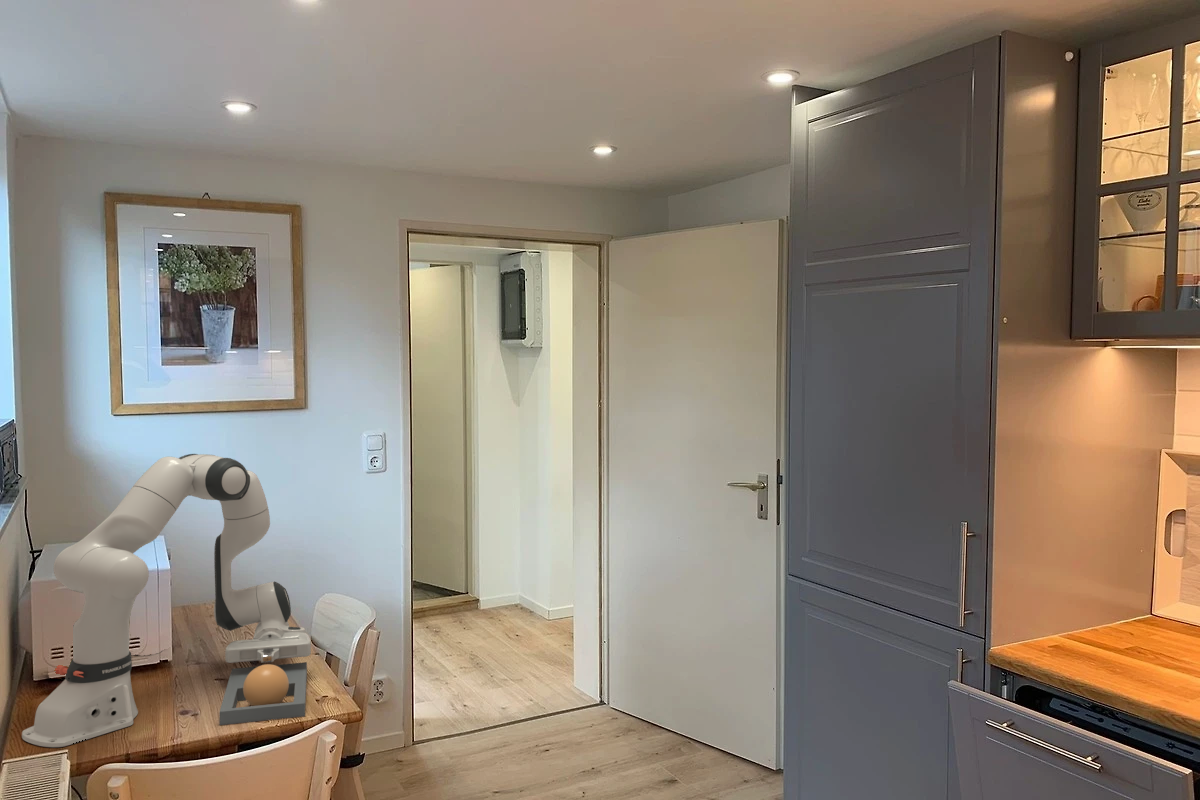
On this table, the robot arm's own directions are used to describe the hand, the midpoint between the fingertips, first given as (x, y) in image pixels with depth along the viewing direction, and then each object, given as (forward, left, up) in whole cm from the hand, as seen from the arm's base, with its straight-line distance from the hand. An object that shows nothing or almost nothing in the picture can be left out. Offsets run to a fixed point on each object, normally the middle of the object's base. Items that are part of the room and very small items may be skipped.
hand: (267, 659), depth 215 cm
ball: (-8, -8, -3) cm, 11 cm away
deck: (-3, -3, -8) cm, 9 cm away
